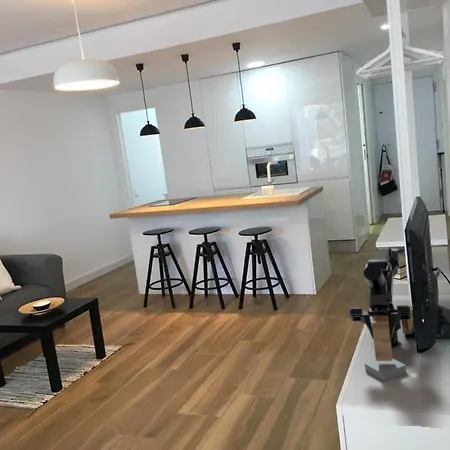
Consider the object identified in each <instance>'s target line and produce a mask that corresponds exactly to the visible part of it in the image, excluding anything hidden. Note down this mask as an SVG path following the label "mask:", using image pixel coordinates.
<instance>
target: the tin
mask: <svg viewBox="0 0 450 450" xmlns="http://www.w3.org/2000/svg"><path fill="white" fill-rule="evenodd" d="M408 306H409V307H410V313H411V319H409V320H401V322H400V324H401V329H402V332H403V334H404V335H405V336H407V335H406V334H410V331H411V329H412V327H413V316H412V306H413V305H408Z"/></svg>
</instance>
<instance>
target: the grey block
mask: <svg viewBox="0 0 450 450" xmlns="http://www.w3.org/2000/svg"><path fill="white" fill-rule="evenodd" d="M364 370H365V371H366V372H367V373H369V374H371V375H372V376H374V377H376V378H377V379H379V380H381V381H383V382H386V381H387V380H390V379H393V378H396V377H398V376H401V375H404V374H405V373H407V365H406V364H404V363H402V362H400V361H399V360H397V359H395V358H393V357H392V361H376V359H372V360H371V361H368V362H364Z"/></svg>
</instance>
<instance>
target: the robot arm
mask: <svg viewBox="0 0 450 450" xmlns="http://www.w3.org/2000/svg"><path fill="white" fill-rule="evenodd" d="M376 249H377V251H376V254H375V257H374V258H373V257H372V258H369V259H368V261H367V263H366V264H365V268H364V270H363V276H364V278H365V280H366V281H365V282H366V283H367V285H368V288H369V289H368V290H369V300H368V302H369V309H370V310H366V309H365V310H364V309H363V307H362V306H360V307H359V306H358V307H357V306H355V307H351V308H350V309H349V317H350V319H351V321H352V322H361V324H365V325H366V327H367V329H368V332H369V333H370V336H371V338H372V340H374V339H373V330H372V319H371V318H372V317H379V316H388V319H389V329H390V339H391V347H392V348H394V347H397V346H400V345H401V344H402V342H401V341H399V337H398V331H399V330H401V329H402V323H401V320H409V319H411V313H410V307H409V306H410V305H408V304H406V305H404V304H403V305H402V304H401V305H396V308H395V306H394V304H393V293H394V291H393V290H394V278H395V276H396V275H397V274H398V273H399V268H400V267H401V261H400V256H399V253H397V252H396V251H394V250H393V248H392V247H390V246H383V247H382V246H381V247H378V248H376Z"/></svg>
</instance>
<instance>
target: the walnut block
mask: <svg viewBox="0 0 450 450" xmlns="http://www.w3.org/2000/svg"><path fill="white" fill-rule="evenodd" d="M371 325H372V330H373V339H372V340H373V346H374V355H375V360H376V361H392V358H393V350H392V348H393V347H391V339H390V329H389V319H388V316H379V317H372V316H371Z"/></svg>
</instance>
